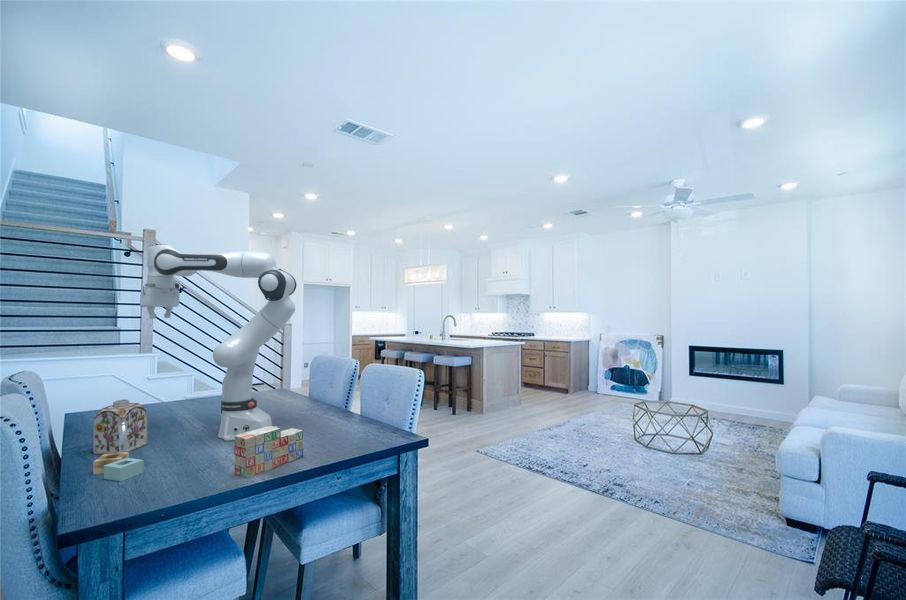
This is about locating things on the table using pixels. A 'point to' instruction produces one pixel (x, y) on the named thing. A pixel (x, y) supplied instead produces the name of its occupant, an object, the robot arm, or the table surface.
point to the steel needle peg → (122, 437)
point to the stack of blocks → (266, 449)
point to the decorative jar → (109, 427)
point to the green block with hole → (123, 469)
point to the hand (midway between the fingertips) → (160, 318)
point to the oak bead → (107, 461)
